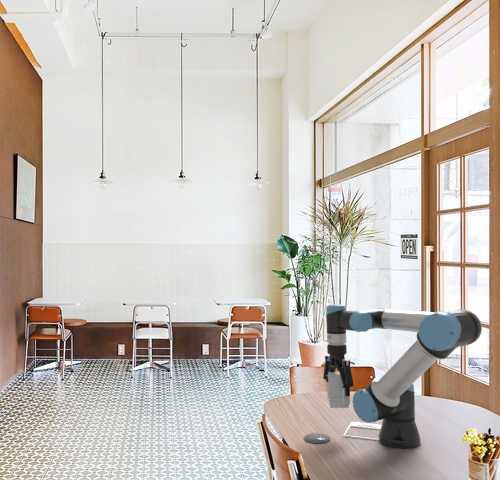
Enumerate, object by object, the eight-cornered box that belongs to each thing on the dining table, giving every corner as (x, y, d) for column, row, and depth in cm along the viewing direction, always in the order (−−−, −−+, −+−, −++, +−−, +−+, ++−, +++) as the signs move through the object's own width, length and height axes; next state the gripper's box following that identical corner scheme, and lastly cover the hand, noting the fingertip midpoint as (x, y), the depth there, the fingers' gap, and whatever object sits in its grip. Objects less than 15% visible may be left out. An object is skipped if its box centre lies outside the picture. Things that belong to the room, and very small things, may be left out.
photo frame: (387, 424, 210) (381, 439, 193) (387, 427, 210) (381, 442, 193) (351, 421, 215) (343, 434, 199) (351, 423, 215) (343, 437, 199)
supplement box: (347, 403, 203) (346, 371, 204) (349, 408, 196) (348, 375, 197) (328, 403, 204) (327, 371, 205) (329, 408, 197) (328, 375, 197)
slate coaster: (335, 441, 194) (335, 439, 194) (313, 445, 190) (313, 444, 190) (321, 433, 203) (321, 431, 203) (299, 437, 199) (299, 435, 199)
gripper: (313, 341, 210) (314, 396, 209) (345, 348, 190) (347, 409, 188) (328, 339, 213) (330, 394, 212) (362, 346, 193) (364, 406, 192)
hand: (338, 401), depth 200 cm, fingers closed on supplement box, 10 cm apart
